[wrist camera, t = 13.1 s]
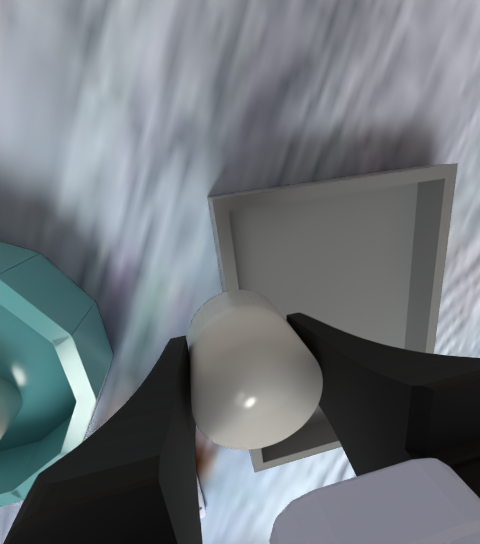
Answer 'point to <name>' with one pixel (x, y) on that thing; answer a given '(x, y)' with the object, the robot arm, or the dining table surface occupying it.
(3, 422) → the stone
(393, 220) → the tray
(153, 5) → the dining table surface
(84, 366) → the bowl
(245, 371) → the stone
